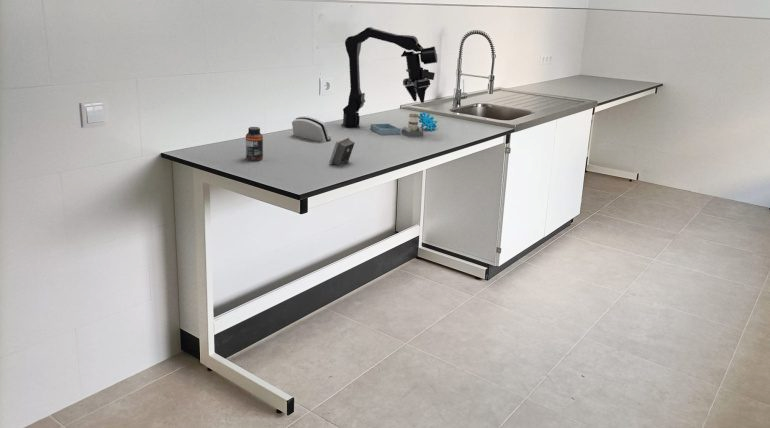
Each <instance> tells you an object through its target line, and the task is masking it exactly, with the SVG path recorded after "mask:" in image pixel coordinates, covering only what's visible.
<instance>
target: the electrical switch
mask: <svg viewBox="0 0 770 428" xmlns="http://www.w3.org/2000/svg"><path fill="white" fill-rule="evenodd" d="M355 144H356V143H355V142H354V141H352V140H351V139H350V137H349V136H345V137H343V138H340V139H338V140H336V141H335V144H334V148H333V150H332V153H331V155H330V159H329V164H330V165H333V164H334V165H336V166H338V167H340V166H342V165H344V164H346V163H347V162H349V161H350V158H351V156H352V153H353V152H352V151H353V149H354V146H355Z"/></svg>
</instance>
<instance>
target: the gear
mask: <svg viewBox="0 0 770 428" xmlns="http://www.w3.org/2000/svg"><path fill="white" fill-rule="evenodd" d="M434 119H435V117H434V116H431V114H430V112H428V113H427V112H426V111H423V112H420V113H419V117H418V123H422V124H421V126H420V128H422V129H423V128H425V130H426V131H428V130H429V132H432V131H435V130H436V128H437V127H438V124H437V123H438V119H437V120H436V119H435V120H434Z"/></svg>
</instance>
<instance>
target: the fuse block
mask: <svg viewBox="0 0 770 428" xmlns="http://www.w3.org/2000/svg"><path fill="white" fill-rule="evenodd" d="M422 129H423V128H421V126H418V127H417V131H410V130H411V128H408V126H403V128H401V134H402V135H404V136H406V137H408V138H416V137H417V138H418V137H419V138H420V137H424V131H422Z"/></svg>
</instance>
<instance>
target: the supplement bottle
mask: <svg viewBox="0 0 770 428" xmlns="http://www.w3.org/2000/svg"><path fill="white" fill-rule="evenodd" d="M263 138H264V137H263V134H262V133H261V128H260V127H258V126H249V127H248V132H247V133H246V134H245V159H246V160H248V161H251V162H252V161H254V162H259V161H261V160H263V158H264V139H263Z"/></svg>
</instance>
